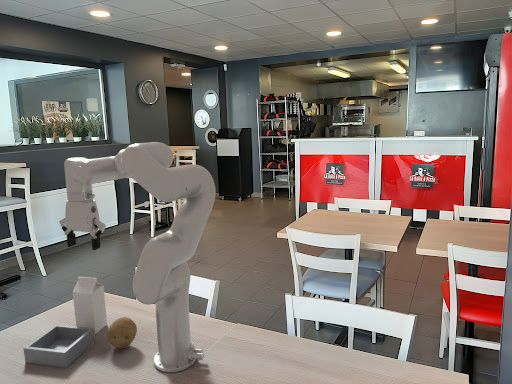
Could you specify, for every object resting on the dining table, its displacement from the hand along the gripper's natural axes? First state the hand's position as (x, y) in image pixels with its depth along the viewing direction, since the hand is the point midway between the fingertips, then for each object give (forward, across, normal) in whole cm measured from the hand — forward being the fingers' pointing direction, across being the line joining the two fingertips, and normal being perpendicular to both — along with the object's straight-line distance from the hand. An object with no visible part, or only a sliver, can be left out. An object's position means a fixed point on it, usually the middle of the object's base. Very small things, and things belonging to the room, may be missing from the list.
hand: (84, 247), depth 130 cm
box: (+30, 0, +13) cm, 33 cm away
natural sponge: (+30, -17, +6) cm, 35 cm away
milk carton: (+31, +1, -2) cm, 31 cm away
